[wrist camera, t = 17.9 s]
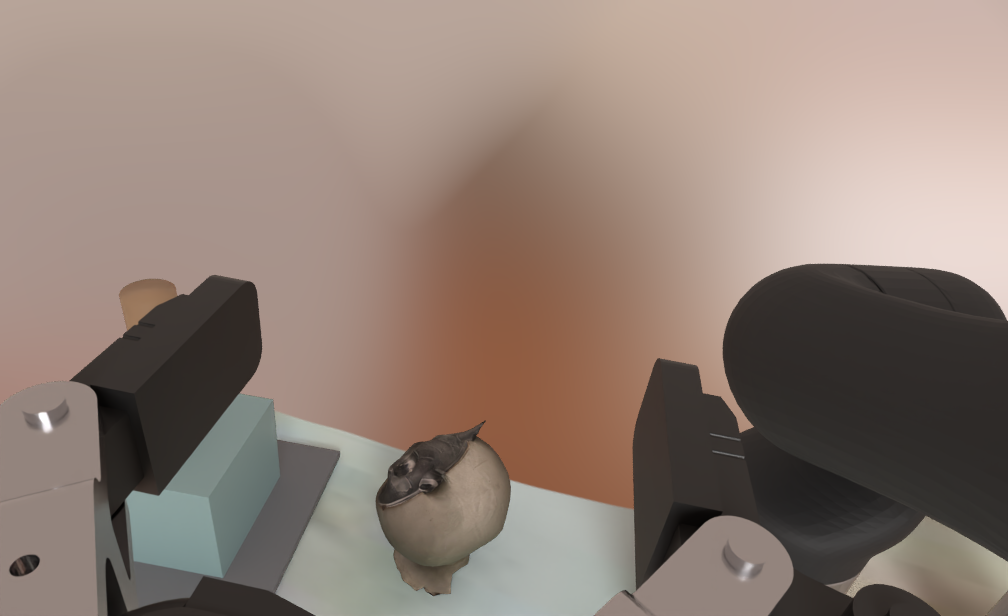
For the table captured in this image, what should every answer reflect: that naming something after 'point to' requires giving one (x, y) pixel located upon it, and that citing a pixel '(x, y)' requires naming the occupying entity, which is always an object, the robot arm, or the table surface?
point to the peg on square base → (205, 476)
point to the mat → (257, 530)
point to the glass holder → (1000, 607)
